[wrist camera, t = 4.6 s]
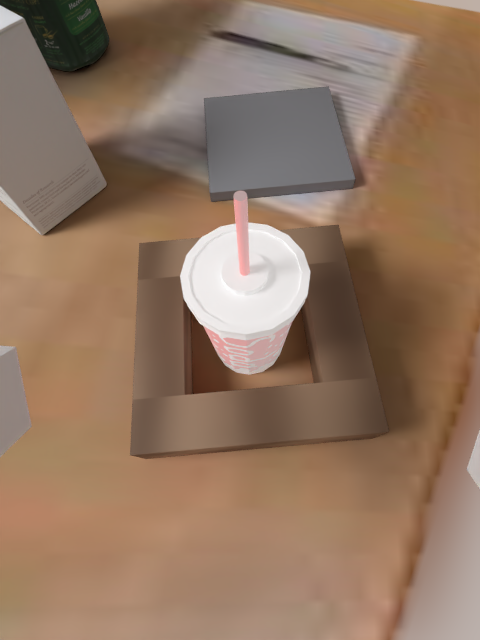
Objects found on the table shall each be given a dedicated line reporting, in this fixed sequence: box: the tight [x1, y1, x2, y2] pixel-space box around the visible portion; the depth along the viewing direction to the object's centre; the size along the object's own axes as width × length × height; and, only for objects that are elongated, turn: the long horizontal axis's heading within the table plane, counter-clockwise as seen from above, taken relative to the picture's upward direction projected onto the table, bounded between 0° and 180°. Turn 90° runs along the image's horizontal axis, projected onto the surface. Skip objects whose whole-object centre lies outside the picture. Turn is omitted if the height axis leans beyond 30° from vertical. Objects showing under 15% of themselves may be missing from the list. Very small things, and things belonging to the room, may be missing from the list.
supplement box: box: [0, 5, 107, 235], centre depth 26 cm, size 7×7×13 cm
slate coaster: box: [204, 87, 355, 202], centre depth 32 cm, size 12×12×1 cm
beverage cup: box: [180, 190, 310, 375], centre depth 19 cm, size 6×6×14 cm
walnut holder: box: [130, 225, 389, 459], centre depth 24 cm, size 14×14×3 cm
